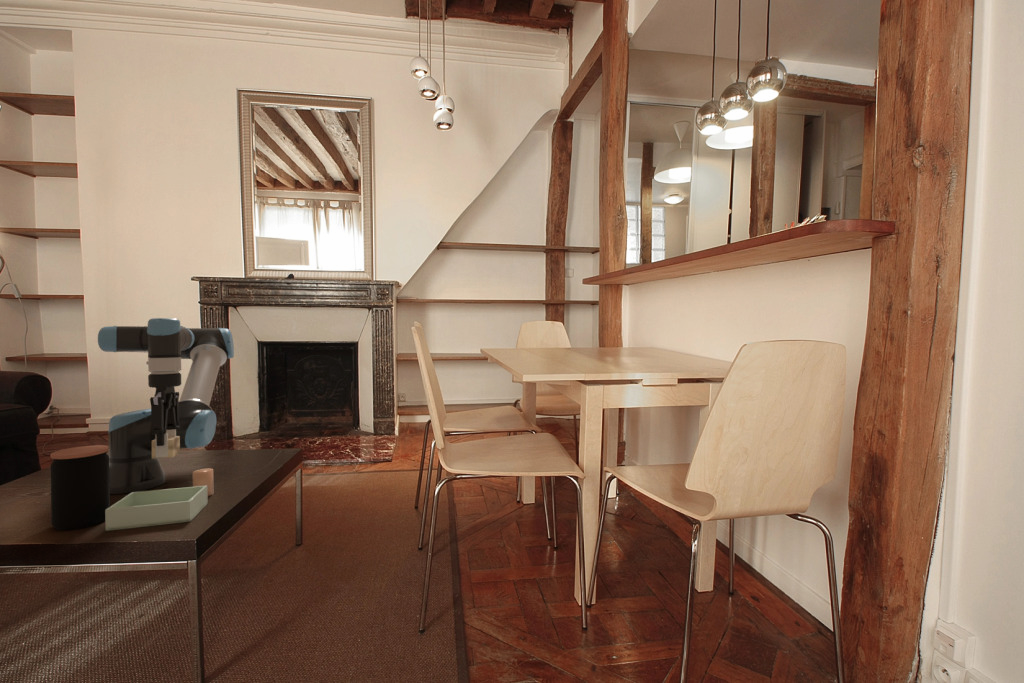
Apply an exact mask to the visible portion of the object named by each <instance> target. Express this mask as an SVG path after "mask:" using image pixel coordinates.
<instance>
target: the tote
mask: <svg viewBox="0 0 1024 683" xmlns="http://www.w3.org/2000/svg"><path fill="white" fill-rule="evenodd" d="M208 497H209V496H208V492H207V486H196V487H193V486H188V487H186V486H185V487H177V488H165V489H163V488H162V489H153V490H152V489H151V490H142V491H137V492H131V493H128V494H127V495H125V496H124V497H123V498H121V499H120V500H118V501H117V502H115V503H114V504H112V505H110V507H109V508H107V509H106V510H105V520H104V521H105V522H104V523H105V531H106V532H107V531H108V532H109V531H116V530H117V531H118V530H128V529H137V528H143V527H155V526H161V525H162V526H163V525H171V524H181V523H182V524H183V523H189V522H192V520H194V518H196V516H197V515H198V514H200V512H201V511H202V510H203V509H204V508H205V507H206V506H207V505H208V502H209V499H208Z"/></svg>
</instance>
